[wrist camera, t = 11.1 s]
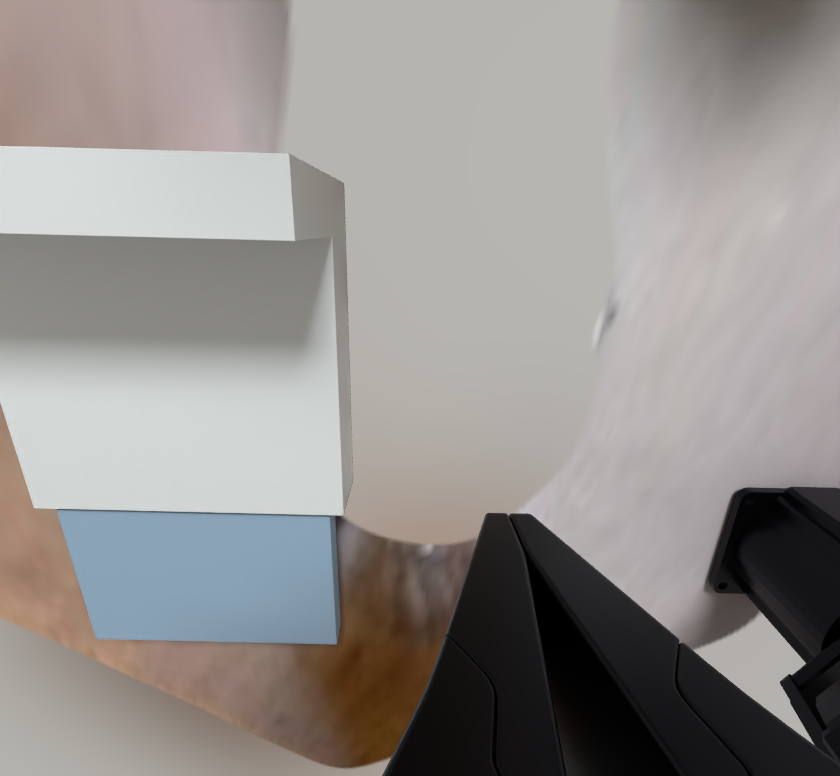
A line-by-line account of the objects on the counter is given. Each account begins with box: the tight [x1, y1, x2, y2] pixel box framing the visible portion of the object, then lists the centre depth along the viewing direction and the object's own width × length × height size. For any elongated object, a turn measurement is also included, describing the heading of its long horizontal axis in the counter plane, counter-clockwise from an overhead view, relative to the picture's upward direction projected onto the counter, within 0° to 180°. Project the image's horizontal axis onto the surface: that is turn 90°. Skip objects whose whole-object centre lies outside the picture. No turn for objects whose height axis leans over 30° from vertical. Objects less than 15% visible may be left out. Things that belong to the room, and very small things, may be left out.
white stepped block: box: [0, 146, 353, 516], centre depth 17 cm, size 14×14×8 cm
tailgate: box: [57, 509, 341, 644], centre depth 23 cm, size 2×13×8 cm
